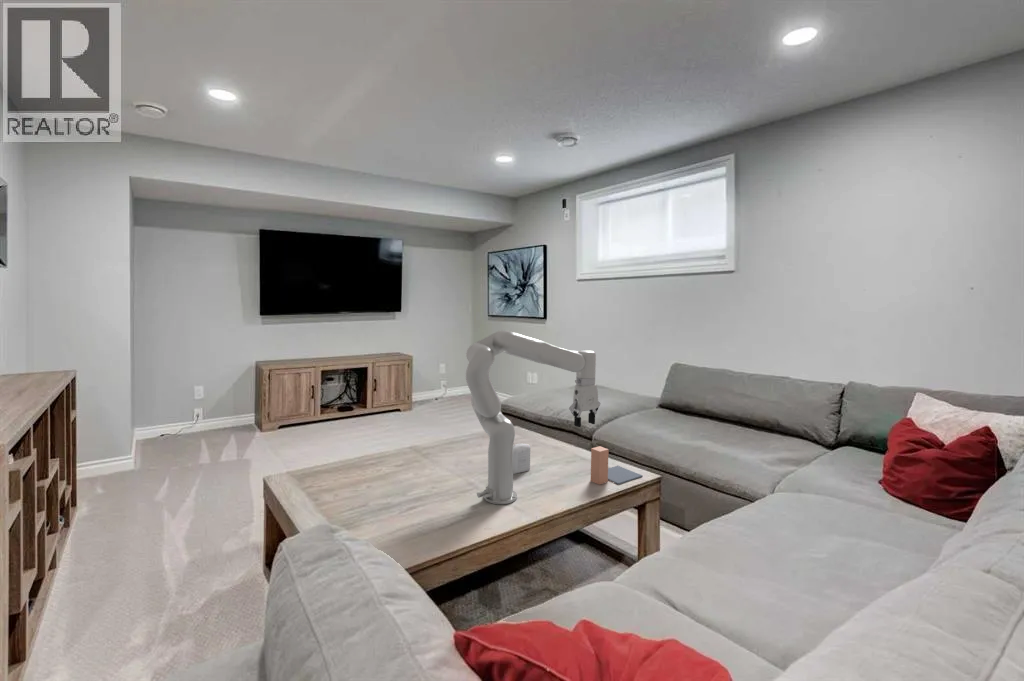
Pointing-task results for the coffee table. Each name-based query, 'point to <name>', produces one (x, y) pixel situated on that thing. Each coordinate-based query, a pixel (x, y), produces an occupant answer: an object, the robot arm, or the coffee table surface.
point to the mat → (621, 475)
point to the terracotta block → (599, 465)
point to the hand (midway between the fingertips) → (584, 424)
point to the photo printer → (521, 458)
